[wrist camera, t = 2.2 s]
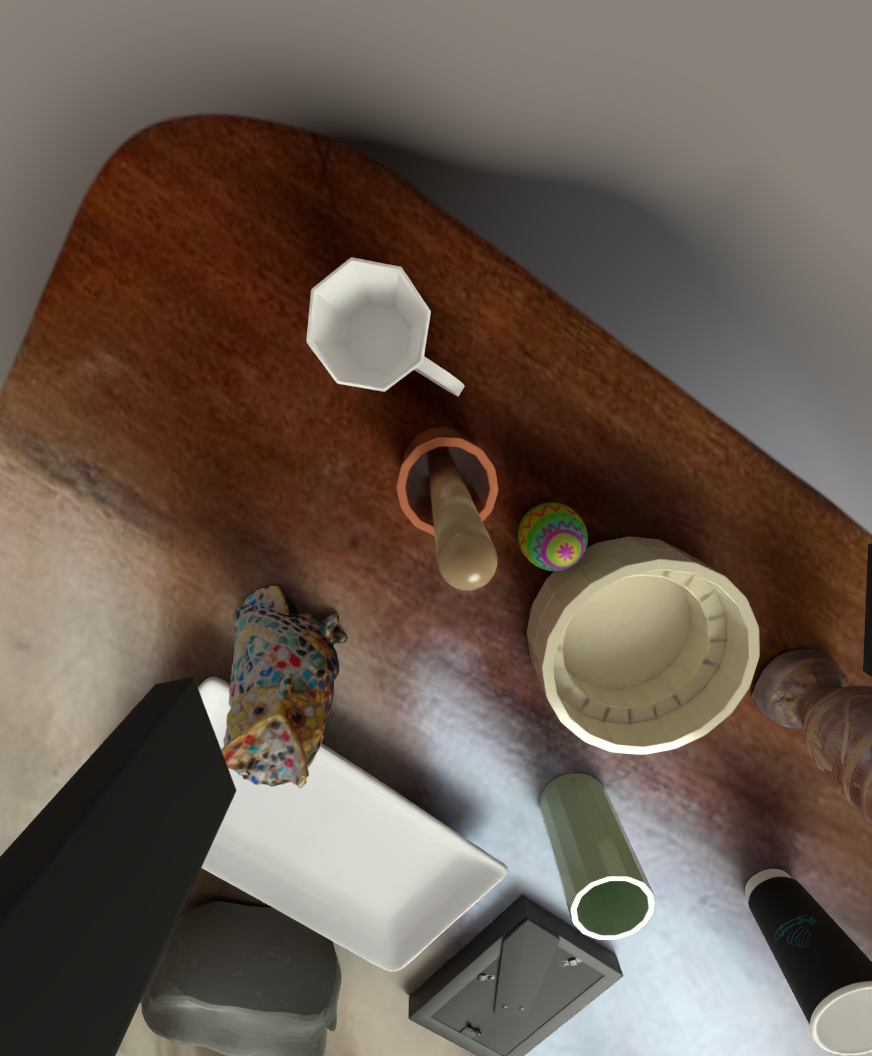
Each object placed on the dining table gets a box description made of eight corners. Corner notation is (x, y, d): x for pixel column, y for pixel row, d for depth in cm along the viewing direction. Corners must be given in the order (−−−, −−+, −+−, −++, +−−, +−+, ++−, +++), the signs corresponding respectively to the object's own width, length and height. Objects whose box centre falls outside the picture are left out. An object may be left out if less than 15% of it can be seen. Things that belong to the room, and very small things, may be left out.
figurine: (332, 567, 39) (281, 671, 25) (365, 664, 42) (336, 810, 27) (229, 595, 40) (120, 712, 25) (268, 689, 42) (189, 846, 28)
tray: (396, 942, 50) (394, 982, 47) (119, 783, 44) (94, 815, 41) (508, 837, 47) (514, 871, 44) (226, 650, 41) (209, 673, 38)
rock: (151, 968, 50) (103, 1072, 42) (169, 885, 47) (121, 980, 40) (329, 999, 52) (314, 1103, 44) (356, 920, 49) (345, 1017, 42)
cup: (361, 264, 34) (343, 226, 26) (484, 348, 35) (502, 335, 27) (311, 357, 35) (280, 348, 27) (431, 433, 37) (434, 445, 29)
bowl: (707, 517, 39) (757, 539, 33) (716, 687, 43) (761, 733, 37) (512, 556, 39) (528, 584, 34) (540, 720, 44) (558, 771, 38)
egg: (587, 514, 39) (616, 536, 33) (554, 567, 40) (577, 597, 34) (533, 486, 38) (553, 503, 32) (501, 540, 39) (515, 566, 33)
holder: (472, 418, 36) (488, 427, 28) (485, 495, 38) (504, 527, 29) (395, 434, 37) (387, 448, 28) (411, 510, 38) (409, 546, 30)
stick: (452, 450, 36) (496, 534, 15) (457, 477, 37) (506, 593, 16) (425, 456, 37) (432, 547, 15) (431, 482, 37) (444, 605, 16)
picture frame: (522, 894, 49) (408, 996, 52) (527, 918, 47) (408, 1023, 50) (616, 955, 51) (502, 1048, 55) (625, 979, 49) (505, 1075, 53)
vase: (602, 766, 45) (651, 868, 35) (609, 821, 47) (657, 932, 37) (535, 778, 45) (565, 883, 36) (544, 832, 47) (576, 947, 37)
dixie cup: (749, 849, 48) (841, 978, 38) (821, 864, 49) (932, 994, 38) (716, 909, 50) (795, 1048, 40) (786, 923, 51) (882, 1062, 40)
